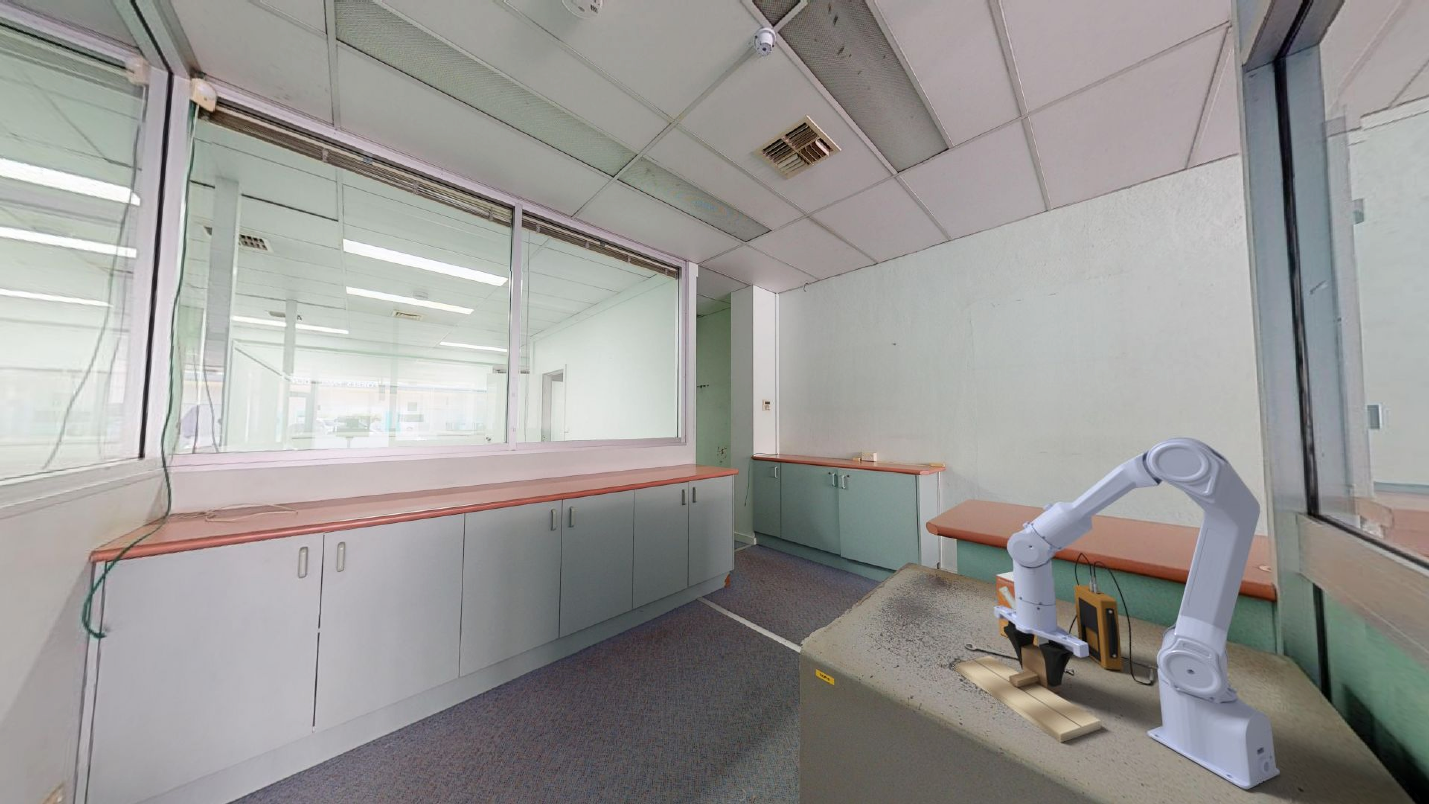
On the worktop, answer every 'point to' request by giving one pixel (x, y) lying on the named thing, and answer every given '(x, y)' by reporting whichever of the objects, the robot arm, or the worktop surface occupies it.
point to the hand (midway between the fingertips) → (1040, 676)
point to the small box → (1009, 601)
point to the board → (1029, 699)
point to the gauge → (1033, 669)
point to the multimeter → (1101, 624)
